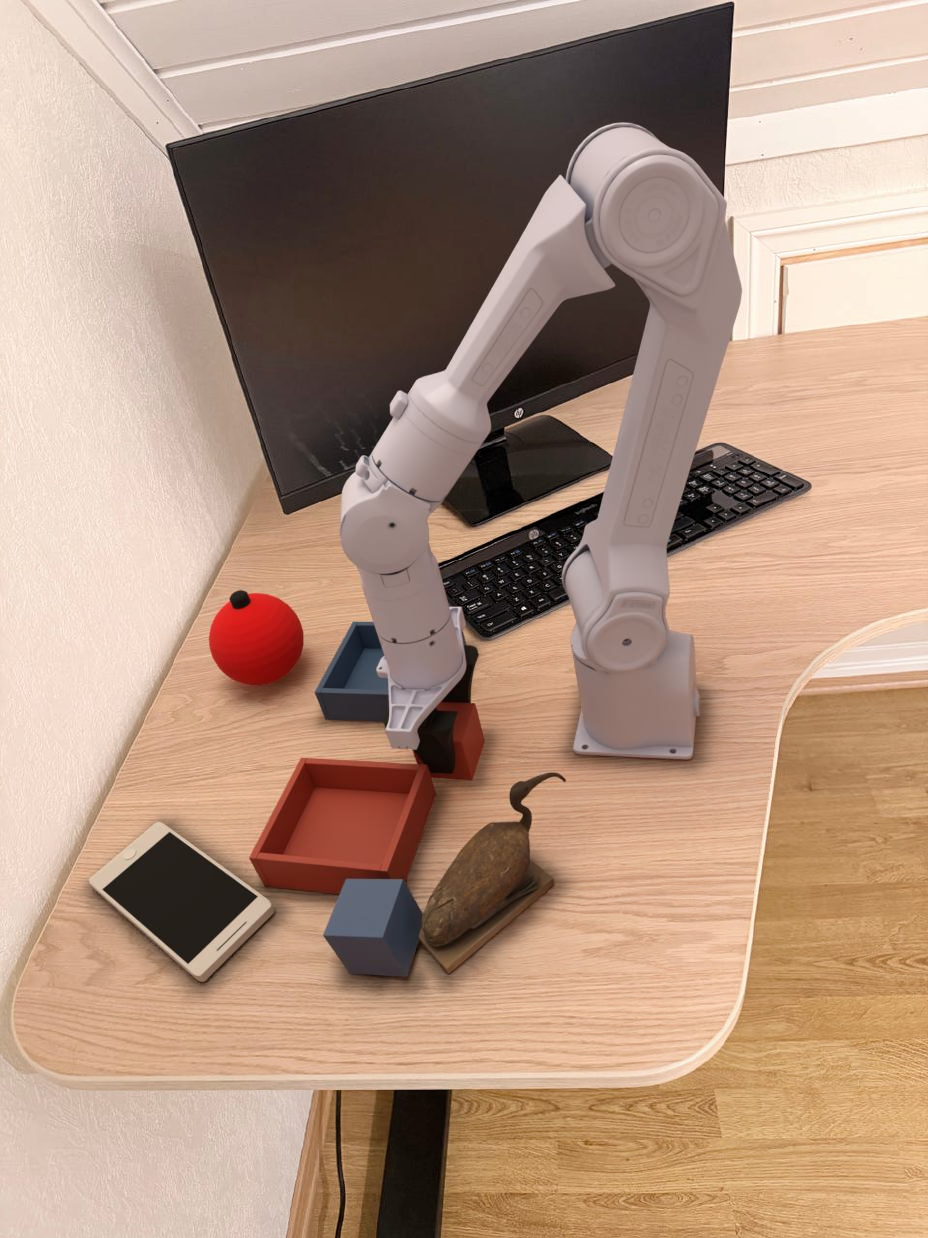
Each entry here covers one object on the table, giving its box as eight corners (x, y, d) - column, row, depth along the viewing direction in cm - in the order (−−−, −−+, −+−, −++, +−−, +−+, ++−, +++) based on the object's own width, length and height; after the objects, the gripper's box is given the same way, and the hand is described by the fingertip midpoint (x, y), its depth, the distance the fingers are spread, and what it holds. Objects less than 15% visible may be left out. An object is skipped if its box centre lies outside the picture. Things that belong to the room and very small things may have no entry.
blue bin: (467, 649, 88) (460, 621, 86) (439, 724, 80) (430, 695, 78) (362, 648, 92) (352, 621, 89) (325, 720, 84) (314, 692, 82)
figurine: (555, 817, 70) (538, 737, 65) (597, 849, 67) (582, 768, 61) (410, 934, 64) (379, 857, 59) (449, 976, 61) (419, 897, 56)
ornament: (219, 668, 94) (182, 591, 88) (300, 633, 96) (270, 555, 90) (239, 718, 87) (201, 637, 81) (326, 679, 89) (295, 597, 83)
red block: (485, 741, 78) (475, 702, 75) (472, 780, 74) (461, 742, 72) (436, 738, 79) (424, 700, 76) (421, 777, 76) (408, 739, 73)
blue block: (426, 918, 64) (403, 879, 62) (407, 977, 61) (382, 937, 58) (370, 917, 66) (345, 878, 63) (349, 973, 62) (322, 935, 60)
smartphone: (162, 826, 77) (158, 818, 77) (277, 910, 68) (273, 902, 67) (91, 887, 73) (85, 880, 73) (202, 985, 64) (197, 978, 63)
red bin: (436, 793, 74) (427, 764, 72) (398, 901, 66) (387, 871, 64) (313, 785, 78) (300, 757, 75) (263, 886, 70) (248, 857, 68)
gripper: (393, 563, 75) (429, 686, 83) (329, 684, 64) (378, 811, 72) (475, 562, 72) (504, 688, 80) (423, 686, 62) (463, 818, 70)
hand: (450, 747), depth 76 cm, fingers closed on red block, 4 cm apart
